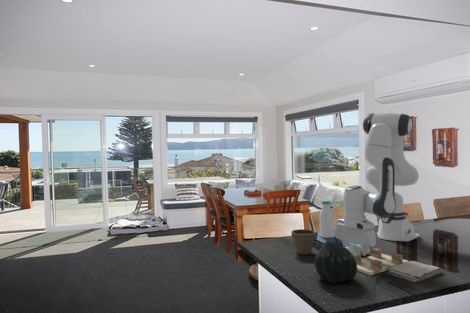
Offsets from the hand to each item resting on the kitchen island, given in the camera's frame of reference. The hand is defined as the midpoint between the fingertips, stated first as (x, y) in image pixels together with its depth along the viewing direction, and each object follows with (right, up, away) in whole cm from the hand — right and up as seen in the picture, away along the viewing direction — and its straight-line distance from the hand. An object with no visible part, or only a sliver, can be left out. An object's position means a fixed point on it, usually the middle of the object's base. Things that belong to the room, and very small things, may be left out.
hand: (354, 252), depth 156 cm
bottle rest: (+5, -2, -12) cm, 13 cm away
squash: (-17, -3, -27) cm, 32 cm away
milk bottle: (-3, -1, +35) cm, 35 cm away
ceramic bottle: (-2, -2, -1) cm, 3 cm away
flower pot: (-22, -2, +7) cm, 23 cm away
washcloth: (+15, -2, -22) cm, 27 cm away
